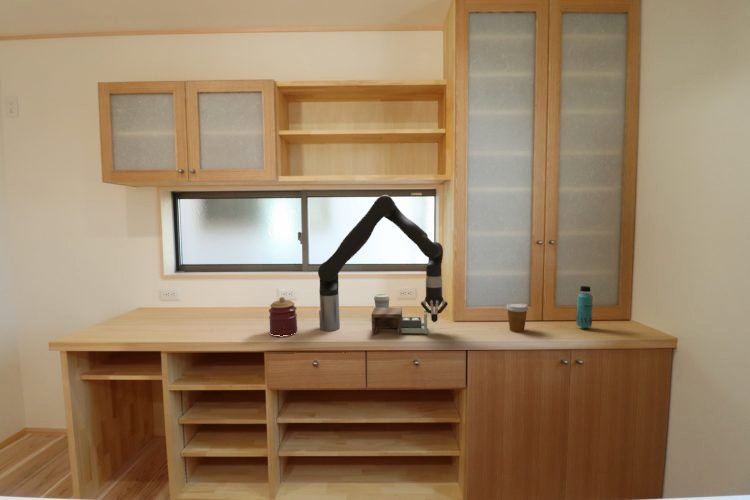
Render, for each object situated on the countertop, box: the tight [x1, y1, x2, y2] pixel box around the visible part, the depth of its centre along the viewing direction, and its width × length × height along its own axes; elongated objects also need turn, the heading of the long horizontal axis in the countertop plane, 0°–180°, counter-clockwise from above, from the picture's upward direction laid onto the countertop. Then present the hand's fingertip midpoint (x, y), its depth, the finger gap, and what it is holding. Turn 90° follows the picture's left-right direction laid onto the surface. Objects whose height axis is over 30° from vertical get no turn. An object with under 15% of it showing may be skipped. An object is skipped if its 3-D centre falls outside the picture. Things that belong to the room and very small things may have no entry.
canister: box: [268, 296, 298, 336], centre depth 180 cm, size 13×13×18 cm
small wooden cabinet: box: [371, 307, 403, 337], centre depth 179 cm, size 14×12×10 cm
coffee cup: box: [373, 293, 391, 308], centre depth 203 cm, size 8×8×12 cm
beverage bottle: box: [575, 285, 594, 328], centre depth 174 cm, size 6×7×20 cm
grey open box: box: [401, 316, 422, 328], centre depth 178 cm, size 10×6×4 cm, turn 84°
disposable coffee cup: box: [505, 302, 529, 333], centre depth 175 cm, size 10×10×12 cm
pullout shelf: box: [397, 308, 428, 335], centre depth 177 cm, size 14×10×9 cm
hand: (434, 321), depth 176 cm, fingers closed
